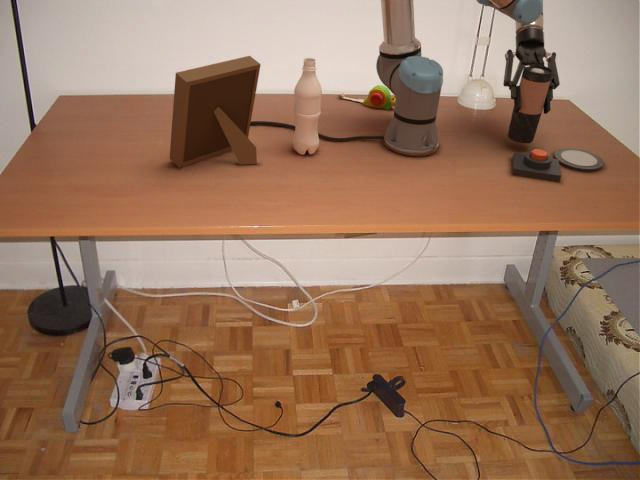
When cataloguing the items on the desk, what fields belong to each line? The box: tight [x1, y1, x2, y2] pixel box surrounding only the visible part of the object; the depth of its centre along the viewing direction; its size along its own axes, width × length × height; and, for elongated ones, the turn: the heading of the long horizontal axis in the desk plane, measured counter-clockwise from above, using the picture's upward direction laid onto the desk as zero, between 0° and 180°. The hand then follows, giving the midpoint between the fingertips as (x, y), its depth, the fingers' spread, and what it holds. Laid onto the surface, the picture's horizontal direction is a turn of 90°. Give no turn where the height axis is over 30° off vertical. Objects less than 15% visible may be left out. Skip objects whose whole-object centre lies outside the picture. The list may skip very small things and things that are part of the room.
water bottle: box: [291, 57, 323, 156], centre depth 167 cm, size 7×7×25 cm
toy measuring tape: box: [338, 84, 396, 111], centre depth 203 cm, size 6×20×7 cm, turn 65°
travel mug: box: [507, 64, 553, 144], centre depth 175 cm, size 8×8×20 cm
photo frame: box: [169, 55, 261, 169], centre depth 159 cm, size 15×22×25 cm
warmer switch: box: [511, 150, 562, 183], centre depth 170 cm, size 12×10×4 cm
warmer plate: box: [553, 147, 604, 173], centre depth 177 cm, size 13×13×1 cm
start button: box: [531, 148, 548, 161], centre depth 169 cm, size 4×4×2 cm
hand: (532, 111), depth 173 cm, fingers closed on travel mug, 7 cm apart
